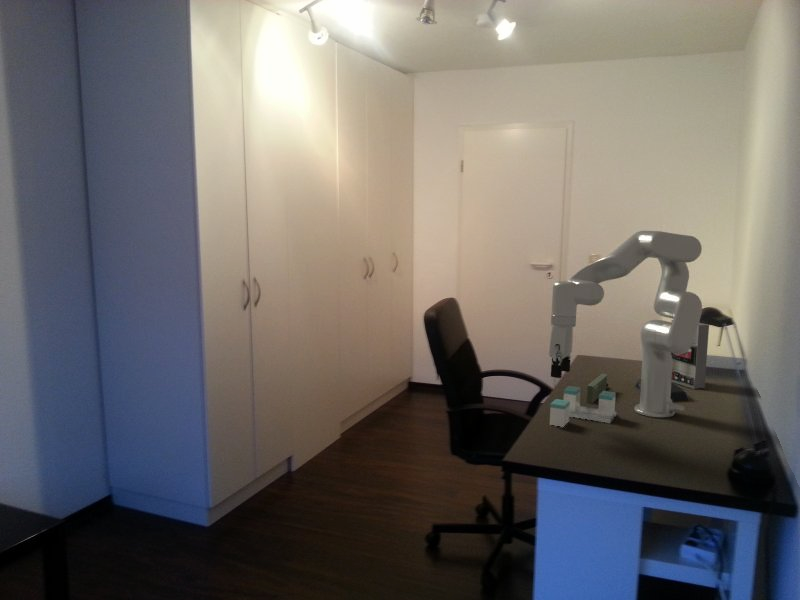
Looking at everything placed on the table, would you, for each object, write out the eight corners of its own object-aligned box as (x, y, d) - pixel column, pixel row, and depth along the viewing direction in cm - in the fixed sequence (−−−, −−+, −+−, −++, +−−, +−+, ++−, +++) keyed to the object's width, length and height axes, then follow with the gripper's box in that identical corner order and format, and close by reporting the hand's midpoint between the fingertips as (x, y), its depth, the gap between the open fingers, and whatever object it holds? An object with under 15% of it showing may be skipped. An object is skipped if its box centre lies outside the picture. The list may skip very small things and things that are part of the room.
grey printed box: (665, 381, 259) (669, 320, 256) (677, 379, 261) (681, 319, 258) (693, 389, 246) (697, 325, 243) (705, 388, 249) (709, 324, 245)
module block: (568, 422, 206) (569, 401, 205) (563, 427, 201) (564, 405, 200) (554, 420, 209) (555, 398, 208) (549, 425, 203) (550, 403, 202)
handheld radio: (583, 402, 229) (602, 387, 250) (593, 404, 227) (610, 388, 248) (585, 384, 228) (603, 370, 249) (594, 386, 226) (612, 372, 247)
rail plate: (616, 415, 214) (617, 391, 213) (609, 423, 205) (611, 398, 204) (568, 407, 222) (569, 384, 221) (560, 415, 213) (561, 391, 212)
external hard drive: (664, 387, 250) (665, 377, 250) (691, 402, 231) (692, 391, 231) (632, 388, 249) (633, 378, 249) (656, 403, 230) (657, 391, 230)
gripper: (559, 316, 210) (556, 367, 212) (543, 323, 195) (540, 378, 197) (582, 318, 206) (579, 370, 208) (567, 325, 191) (564, 381, 193)
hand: (560, 374), depth 203 cm, fingers open, 9 cm apart
